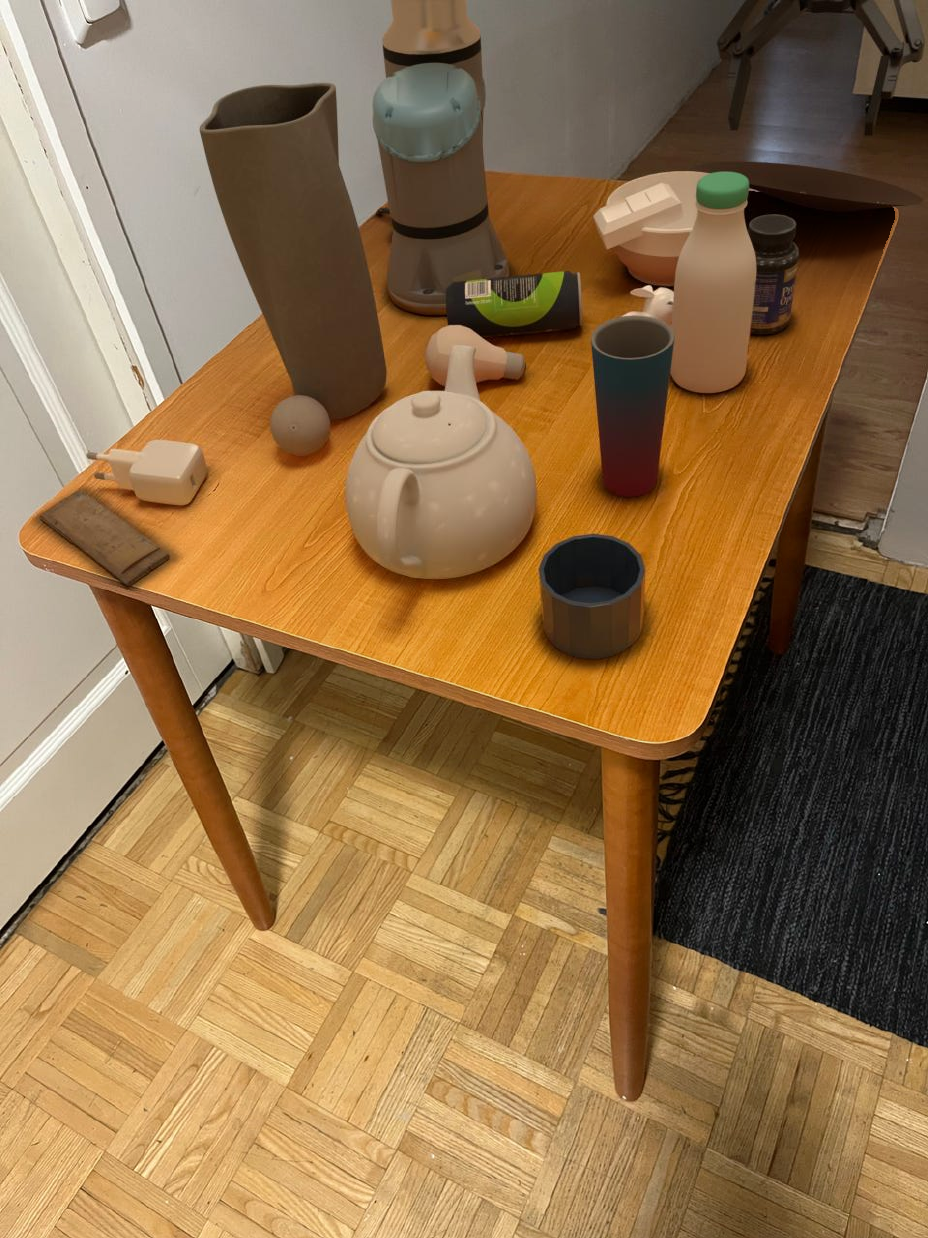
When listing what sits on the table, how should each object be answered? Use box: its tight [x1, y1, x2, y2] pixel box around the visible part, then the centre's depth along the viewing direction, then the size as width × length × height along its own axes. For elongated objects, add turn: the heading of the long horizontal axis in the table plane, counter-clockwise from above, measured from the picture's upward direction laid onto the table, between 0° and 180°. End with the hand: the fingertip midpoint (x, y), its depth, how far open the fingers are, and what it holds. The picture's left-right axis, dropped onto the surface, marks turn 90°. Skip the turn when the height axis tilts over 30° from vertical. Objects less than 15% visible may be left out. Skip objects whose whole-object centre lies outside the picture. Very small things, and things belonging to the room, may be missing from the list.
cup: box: [590, 315, 675, 498], centre depth 83 cm, size 7×7×15 cm
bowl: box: [605, 170, 710, 287], centre depth 113 cm, size 16×16×8 cm
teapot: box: [344, 345, 538, 580], centre depth 82 cm, size 19×18×14 cm
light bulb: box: [424, 325, 527, 387], centre depth 101 cm, size 7×7×11 cm
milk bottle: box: [670, 172, 756, 394], centre depth 92 cm, size 8×8×20 cm
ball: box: [269, 394, 331, 457], centre depth 96 cm, size 6×6×6 cm
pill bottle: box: [747, 213, 800, 336], centre depth 101 cm, size 6×6×11 cm
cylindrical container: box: [538, 533, 646, 660], centre depth 75 cm, size 8×8×6 cm
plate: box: [691, 161, 924, 213], centre depth 118 cm, size 28×28×4 cm
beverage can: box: [446, 270, 583, 338], centre depth 107 cm, size 6×6×15 cm
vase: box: [198, 82, 388, 422], centre depth 93 cm, size 12×12×30 cm
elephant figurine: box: [621, 284, 674, 328], centre depth 101 cm, size 7×12×6 cm
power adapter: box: [85, 438, 208, 506], centre depth 95 cm, size 11×5×6 cm
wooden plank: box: [39, 489, 171, 587], centre depth 91 cm, size 17×1×5 cm
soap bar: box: [592, 183, 684, 250], centre depth 107 cm, size 5×9×3 cm, turn 97°
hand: (798, 127), depth 98 cm, fingers open, 13 cm apart
